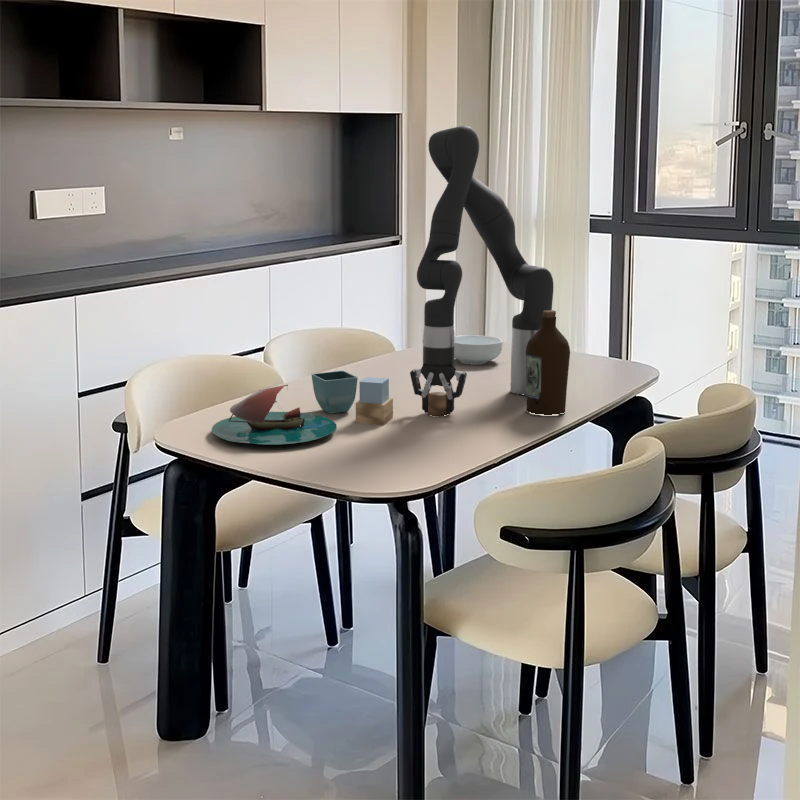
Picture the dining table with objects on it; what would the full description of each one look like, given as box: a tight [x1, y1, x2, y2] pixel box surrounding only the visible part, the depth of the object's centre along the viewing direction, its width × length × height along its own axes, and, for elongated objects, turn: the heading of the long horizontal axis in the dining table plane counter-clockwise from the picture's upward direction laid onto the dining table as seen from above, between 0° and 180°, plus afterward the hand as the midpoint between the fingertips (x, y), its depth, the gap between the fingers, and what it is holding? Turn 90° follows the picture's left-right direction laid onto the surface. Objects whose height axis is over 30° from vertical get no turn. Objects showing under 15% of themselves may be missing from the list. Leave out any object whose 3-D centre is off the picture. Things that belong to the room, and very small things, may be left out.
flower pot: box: [311, 370, 359, 415], centre depth 268 cm, size 9×9×9 cm
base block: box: [355, 397, 394, 426], centre depth 260 cm, size 7×7×5 cm
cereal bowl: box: [454, 334, 503, 366], centre depth 328 cm, size 17×17×7 cm
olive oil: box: [525, 310, 571, 415], centre depth 266 cm, size 11×11×25 cm
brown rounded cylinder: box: [427, 391, 448, 417], centre depth 266 cm, size 5×5×5 cm
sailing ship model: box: [211, 384, 338, 446], centre depth 247 cm, size 28×28×11 cm
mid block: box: [359, 376, 390, 404], centre depth 259 cm, size 6×6×5 cm
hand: (437, 412), depth 266 cm, fingers closed on brown rounded cylinder, 5 cm apart
